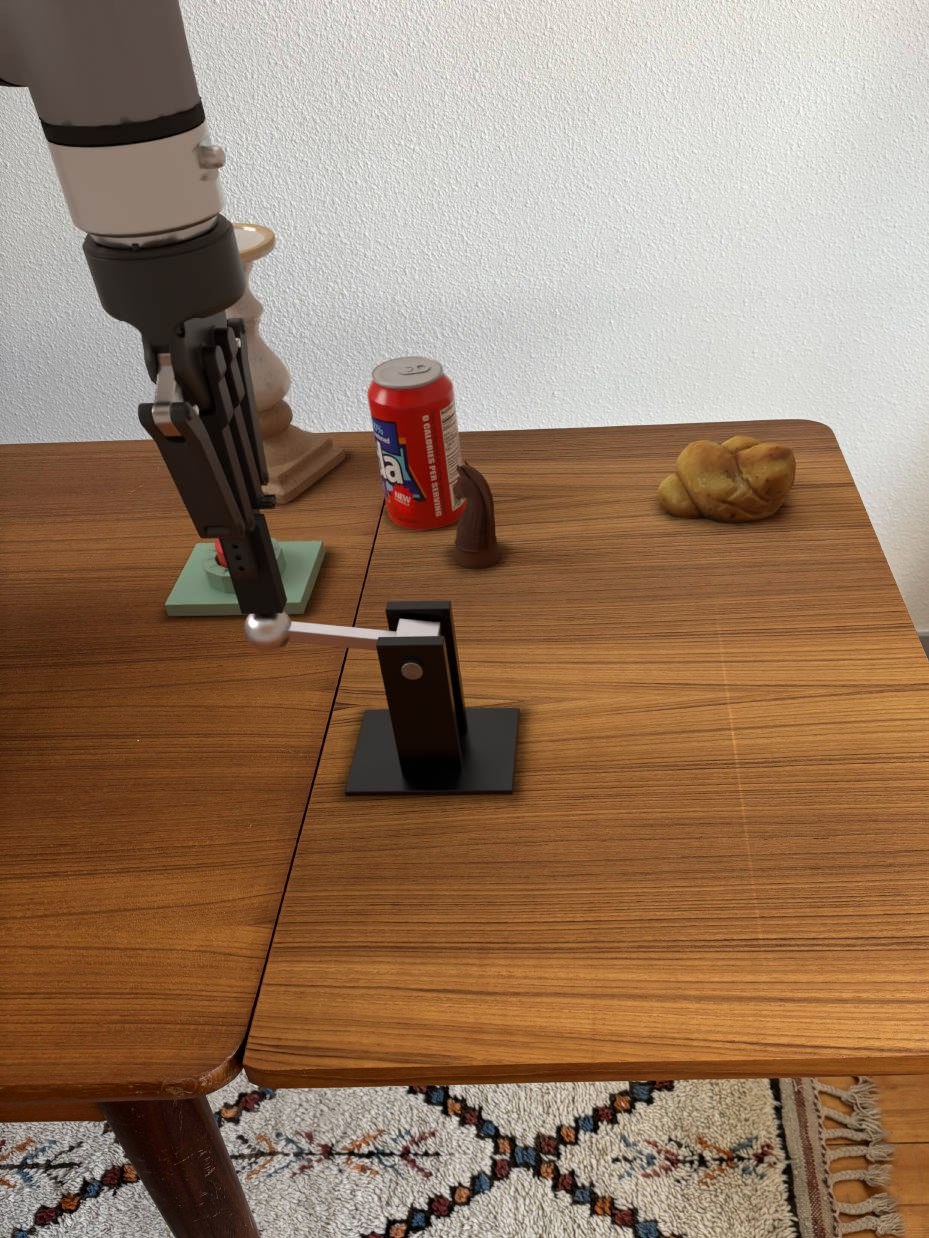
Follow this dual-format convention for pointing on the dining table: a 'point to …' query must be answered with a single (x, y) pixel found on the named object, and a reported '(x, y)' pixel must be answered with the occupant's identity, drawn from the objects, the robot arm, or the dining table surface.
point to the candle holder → (276, 390)
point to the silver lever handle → (323, 633)
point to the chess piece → (475, 521)
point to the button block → (213, 591)
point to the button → (220, 553)
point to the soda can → (416, 441)
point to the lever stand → (430, 720)
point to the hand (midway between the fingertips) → (264, 606)
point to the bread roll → (729, 480)
